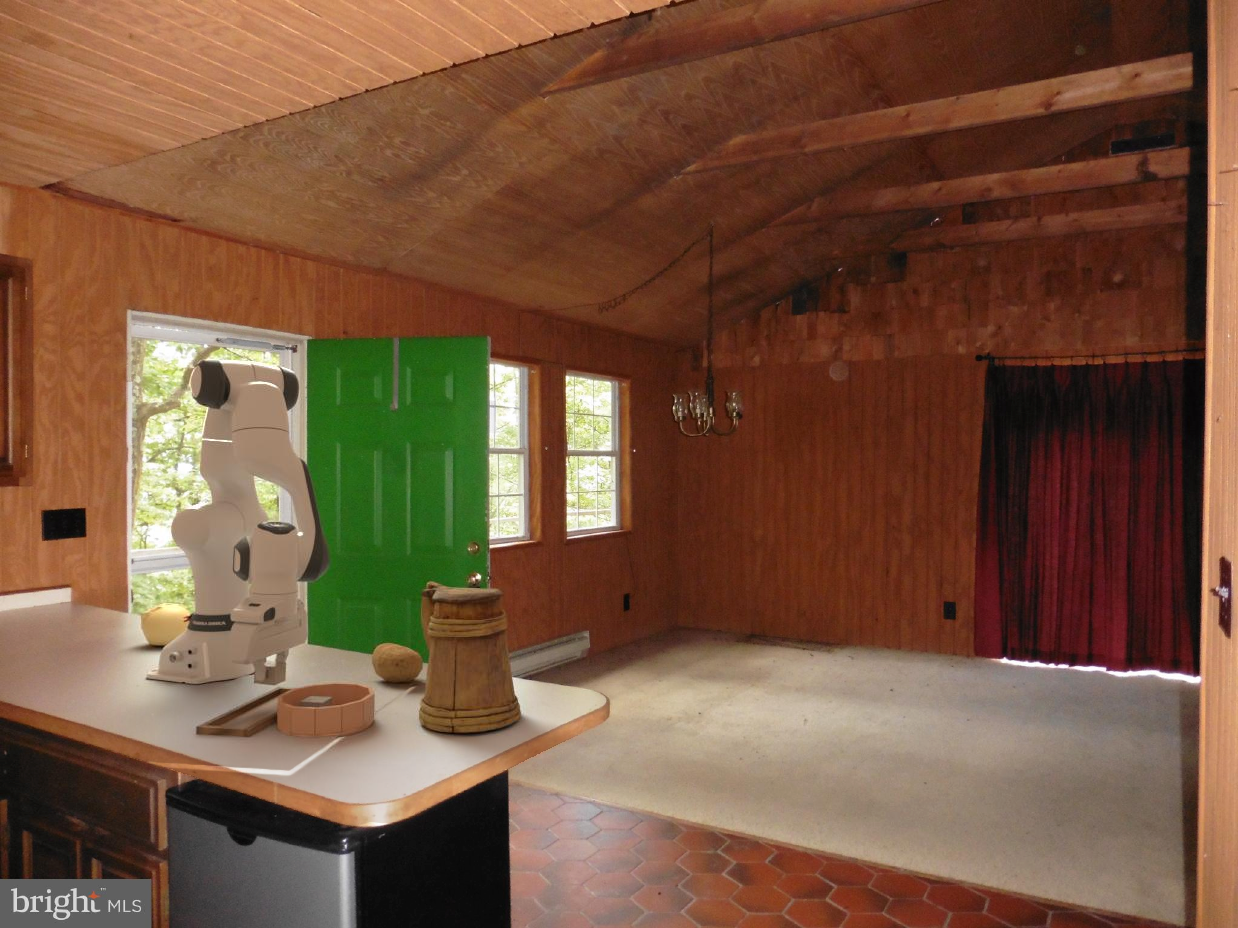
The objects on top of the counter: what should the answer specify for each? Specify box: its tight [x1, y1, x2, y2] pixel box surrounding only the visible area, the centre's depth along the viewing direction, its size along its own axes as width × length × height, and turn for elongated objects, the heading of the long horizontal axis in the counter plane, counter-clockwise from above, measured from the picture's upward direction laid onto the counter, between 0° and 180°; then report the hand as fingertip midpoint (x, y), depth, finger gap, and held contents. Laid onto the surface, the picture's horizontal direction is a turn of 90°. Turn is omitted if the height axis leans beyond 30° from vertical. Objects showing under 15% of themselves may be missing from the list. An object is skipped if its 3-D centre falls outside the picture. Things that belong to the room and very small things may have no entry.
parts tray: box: [195, 686, 296, 738], centre depth 156 cm, size 10×26×2 cm, turn 172°
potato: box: [371, 642, 424, 684], centre depth 181 cm, size 10×14×8 cm
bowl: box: [276, 682, 376, 739], centre depth 151 cm, size 17×17×6 cm
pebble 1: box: [300, 696, 332, 707], centre depth 152 cm, size 4×4×4 cm
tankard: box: [418, 581, 522, 734], centre depth 156 cm, size 18×24×25 cm
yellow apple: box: [140, 602, 192, 646], centre depth 216 cm, size 11×12×11 cm
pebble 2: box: [253, 659, 287, 686], centre depth 161 cm, size 4×4×4 cm
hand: (269, 676), depth 161 cm, fingers closed on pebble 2, 4 cm apart
